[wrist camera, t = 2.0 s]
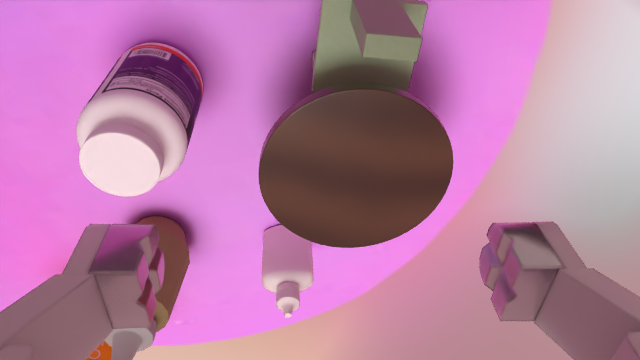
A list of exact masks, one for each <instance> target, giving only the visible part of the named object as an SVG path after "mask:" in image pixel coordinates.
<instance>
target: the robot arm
mask: <svg viewBox="0 0 640 360" xmlns="http://www.w3.org/2000/svg"><path fill="white" fill-rule="evenodd" d="M487 237H488V239H489V241H490V242H489V243H488V244H487V245H486V246H484V247H483V248H482V252H481V255H480V273H481V277H482V280H483V282H484V285H485V286H487V287H488V288H490V289H491V290H492V291H493V294H492V297H491V301H492V303H493V305H494V308H495V310H496V312H497V315H498V317H499V319H500V321H535V322H534V323H535V324H536V325H537V326H538V327H539V328H540V329H541V330H542V331H544V332H545V333H546V334H547V335H548V336H549V337H550V338H551V339H552V340H553V341H555V343H557V344H558V345H559V346H560V347H561V348H562V349H563V350H564V351H565V352H566V353H567V354H569V355H570V356H571V357H572V358H573V359H574V360H640V297H639V296H637V295H636V294H634V293H632V292H631V291H629V290H627V289H626V288H624V287H622V286H621V285H619V284H618V283H616V282H615V281H613V280H611V279H610V278H608V277H606V276H605V275H603V274H601V273H600V272H598V271H597V270H595V269H587V267H586V266H585V265H584V263H583V262H582V260H581V259H580V257H579V256H578V254H577V253H576V251H575V250H574V249H573V247H572V245H571V244H570V243H569V241H568V240H567V238H566V237H565V235H564V234H563V232H562V231H561V230H560V228H559V227H558V225H557V224H555V223H554V222H532V223H529V222H528V223H492V225H491V226H490V227H489V230H488V233H487ZM159 238H160V236H159V232H158V228H157V226H155V225H144V224H112V225H111V224H90V225H89V226H87V227H86V228H85V230H84V232H83V234H82V236H81V238H80V239H79V241H78V243H77V245H76V247H75V249H74V251H73V253H72V255H71V257H70V259H69V261H68V263H67V265H66V267H65V269H64V271H63V273H62V275H54V276H52V277H51V278H49V279H48V280H47V281H45V282H44V283H42V284H41V285H39V286H38V287H36V288H35V289H33V290H32V291H30V292H29V293H28V294H26V295H25V296H23V297H22V298H20V299H19V300H17V301H16V302H14V303H13V304H11V305H10V306H9V307H7V308H6V309H4V310H3V311H1V312H0V360H86V359H87V358H88V357H89V355H90V354H91V353H92V352H93V351H94V350H95V349H96V348H97V347H98V346H99V345H100V344H101V343H102V342H103V341H104V340H105V339H106V338H107V337H108V336H109V335H110V334H111V333H112V332H113V330H112V329H127V328H149V327H151V324H152V320H153V316H154V313H155V309H156V306H157V302H156V298H155V294H156V293H157V292H158V291H160V290H161V288H162V284H163V280H164V270H165V265H164V255H163V251H162V250H161V249H160V248H159V247H158V246H157V245H158V241H159Z"/></svg>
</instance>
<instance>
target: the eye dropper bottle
mask: <svg viewBox="0 0 640 360" xmlns="http://www.w3.org/2000/svg"><path fill="white" fill-rule="evenodd" d="M262 282H263V286H264V288H265V289H267V290H269V291H271V292H274V293H276V306H277V308H278V309H280V310H281V311H284V315H285V317H286V318H290V317H291V316H292V311H294V310H296V309H297V308H298V307H299V305H300V295H299V292H301V291H303V290H305V289H307V288H309V287H310V286H311V285H312V284H313V260H312V244H311V241H308V240H306V239H304V238H301V237H299V236H298V235H296V234H294V233H292V232H291V231H290V230H288V229H287V228H285V227H284V226H283V225H278V226H274V227H271V228H269V229H267V230H266V231H265V232H264V236H263V257H262Z"/></svg>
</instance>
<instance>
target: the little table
mask: <svg viewBox="0 0 640 360" xmlns="http://www.w3.org/2000/svg"><path fill="white" fill-rule="evenodd" d="M452 169H453V152H452V147H451V143H450V140H449V138H448V135H447V133H446V131H445V129H444V127H443V125H442V123H441V122H440V120H439V118H438V117H437V115H436V114H435V113H434V112H433V111H432V110H431V109H430V107H428V106H427V105H426V104H425V103H424V102H422V101H421V100H420V99H418V98H417V97H415V96H413V95H412V94H410V93H408V92H406V91H403V90H401V89H399V88H396V87H392V86H388V85H385V84H378V83H367V82H356V83H346V84H340V85H336V86H331V87H328V88H325V89H322V90H320V91H317V92H315V93H313V94H311V95H309V96H307V97H305V98H303V99H302V100H300V101H299V102H297V103H296V104H294V105H293V106H292V107H290V108H289V109H288V110H287V111H286V112H285V113H284V114H283V115H282V116H281V117H280V118H279V119H278V120H277V121H276V123H275V124H274V125H273V127H272V129H271V130H270V132H269V133H268V135H267V137H266V140H265V142H264V144H263V147H262V151H261V155H260V163H259V184H260V189H261V193H262V196H263V199H264V201H265V203H266V205H267V207H268V209H269V210H270V212H271V213H272V214H273V216H274V217H275V218H276V219H277V220H278V221H279V222H280V223H281V224H282V225H283V226H284V227H285V228H287V229H288V230H290V231H291V232H292V233H294V234H296V235H298V236H299V237H301V238H304V239H306V240H308V241H311V242H314V243H317V244H321V245H326V246H331V247H342V248H354V247H364V246H370V245H375V244H379V243H382V242H385V241H388V240H391V239H393V238H396V237H398V236H400V235H402V234H404V233H406V232H408V231H409V230H411V229H412V228H414V227H416V226H417V225H418V224H420V223H421V222H422V221H423V220H424V219H426V218H427V217H428V216H429V215H430V214H431V213H432V212H433V210H434V209H435V208H436V207H437V205H438V204H439V203H440V201H441V200H442V198H443V196H444V194H445V193H446V190H447V188H448V186H449V183H450V179H451V175H452Z"/></svg>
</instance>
